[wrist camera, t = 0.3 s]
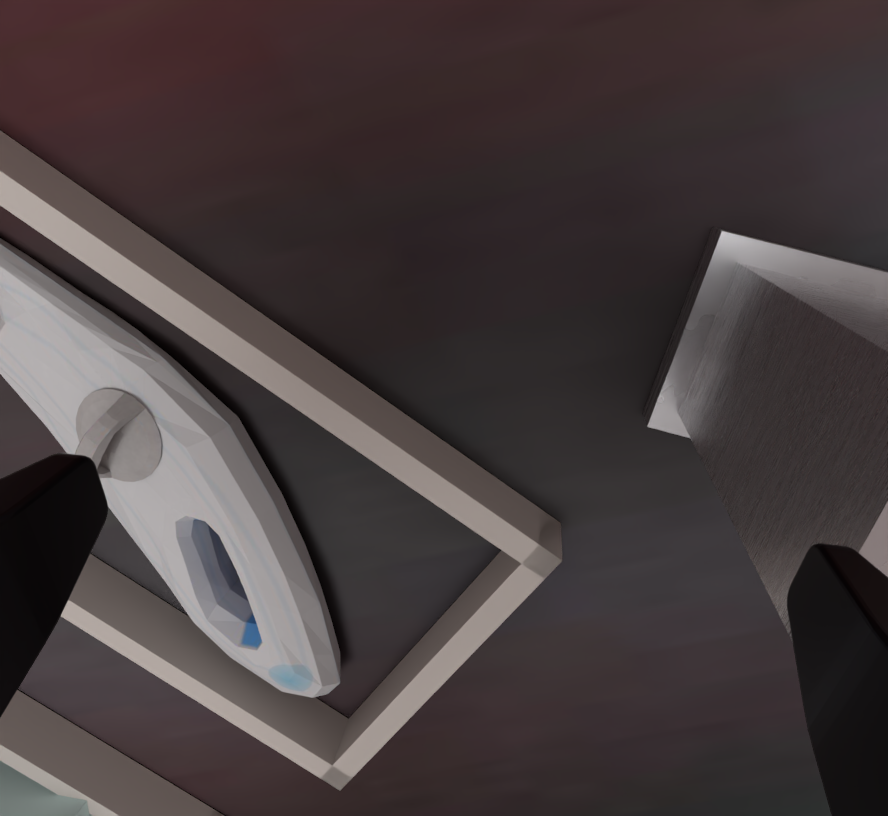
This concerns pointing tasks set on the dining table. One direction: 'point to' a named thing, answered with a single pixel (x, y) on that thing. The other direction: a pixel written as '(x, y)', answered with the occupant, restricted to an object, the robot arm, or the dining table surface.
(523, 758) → the dining table surface
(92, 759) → the coaster tray rim
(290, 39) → the dining table surface
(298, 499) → the dining table surface
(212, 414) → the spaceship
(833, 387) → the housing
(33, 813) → the right angle wall
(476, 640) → the casing tray rim
